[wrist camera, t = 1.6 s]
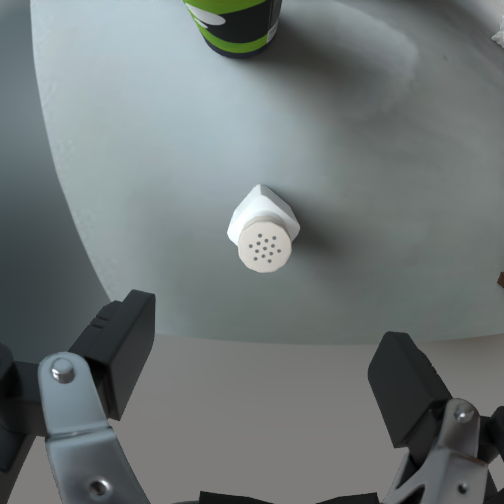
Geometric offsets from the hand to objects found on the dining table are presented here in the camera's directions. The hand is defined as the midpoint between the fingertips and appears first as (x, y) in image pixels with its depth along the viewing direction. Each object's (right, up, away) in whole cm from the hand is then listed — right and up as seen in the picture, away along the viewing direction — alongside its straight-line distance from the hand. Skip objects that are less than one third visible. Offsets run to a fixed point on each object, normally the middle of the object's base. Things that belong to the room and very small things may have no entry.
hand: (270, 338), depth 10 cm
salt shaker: (0, +6, +17) cm, 18 cm away
